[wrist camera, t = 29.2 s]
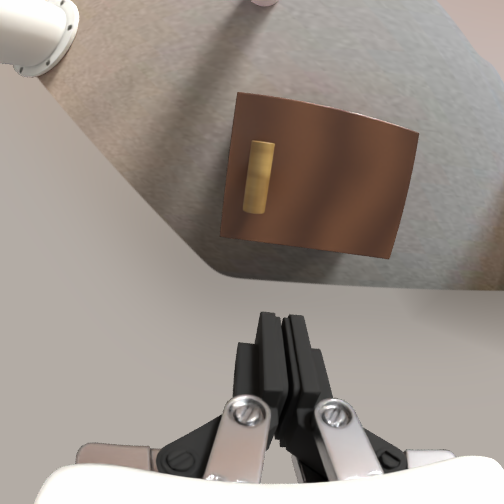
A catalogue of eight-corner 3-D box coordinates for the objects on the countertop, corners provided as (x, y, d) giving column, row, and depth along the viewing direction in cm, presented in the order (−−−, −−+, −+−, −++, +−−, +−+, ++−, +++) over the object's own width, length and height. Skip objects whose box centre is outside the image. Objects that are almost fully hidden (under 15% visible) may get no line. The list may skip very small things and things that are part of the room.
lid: (220, 234, 27) (213, 258, 22) (237, 93, 22) (233, 83, 17) (386, 256, 28) (409, 281, 23) (415, 132, 23) (447, 136, 18)
